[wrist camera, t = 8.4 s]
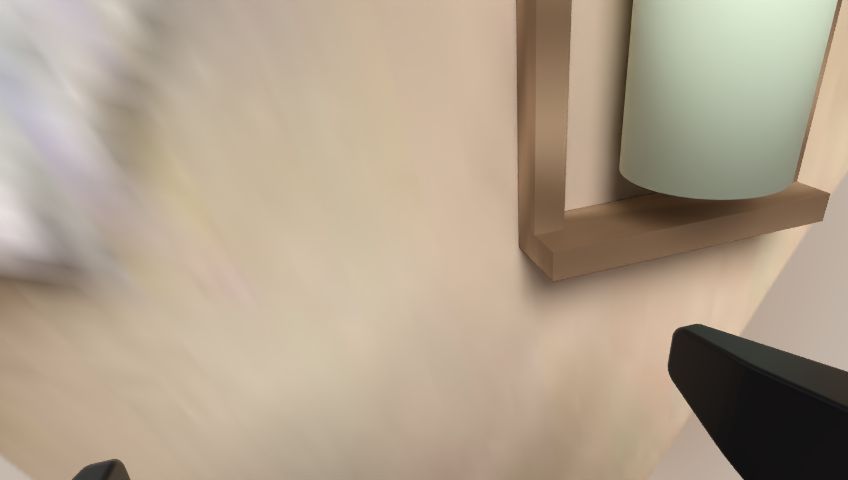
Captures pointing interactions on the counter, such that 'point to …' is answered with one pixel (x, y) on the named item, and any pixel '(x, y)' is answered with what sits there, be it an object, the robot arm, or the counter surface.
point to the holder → (630, 218)
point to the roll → (720, 94)
